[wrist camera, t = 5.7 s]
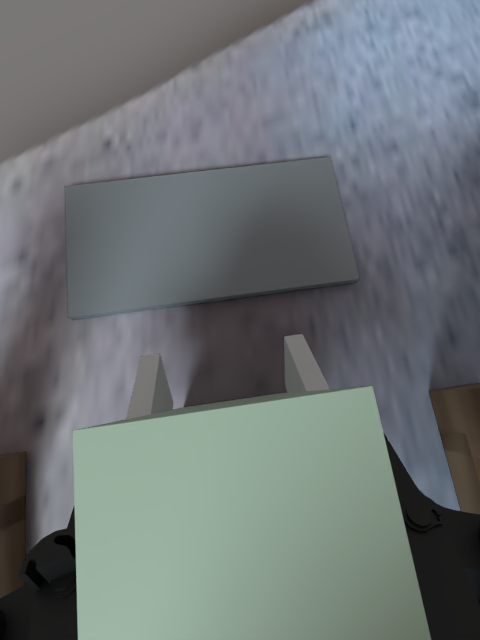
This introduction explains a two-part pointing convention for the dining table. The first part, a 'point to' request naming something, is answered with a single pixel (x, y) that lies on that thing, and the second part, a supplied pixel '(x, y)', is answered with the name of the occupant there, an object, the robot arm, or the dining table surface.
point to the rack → (453, 422)
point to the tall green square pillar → (244, 524)
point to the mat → (204, 237)
